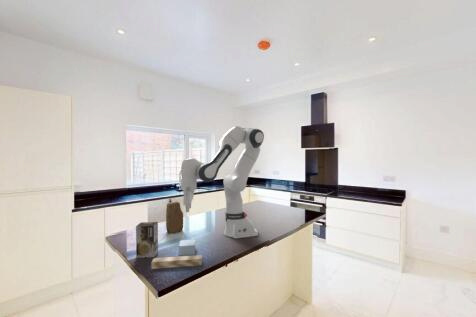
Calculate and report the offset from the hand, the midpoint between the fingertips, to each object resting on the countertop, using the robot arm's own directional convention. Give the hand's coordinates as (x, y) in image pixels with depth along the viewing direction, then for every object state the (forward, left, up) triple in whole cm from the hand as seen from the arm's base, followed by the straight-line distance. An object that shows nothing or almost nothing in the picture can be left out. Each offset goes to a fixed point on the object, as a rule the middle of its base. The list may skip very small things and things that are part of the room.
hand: (188, 210), depth 121 cm
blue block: (0, +10, -20) cm, 22 cm away
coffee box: (+20, +11, -20) cm, 30 cm away
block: (+12, -24, -20) cm, 34 cm away
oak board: (+3, +24, -20) cm, 31 cm away
